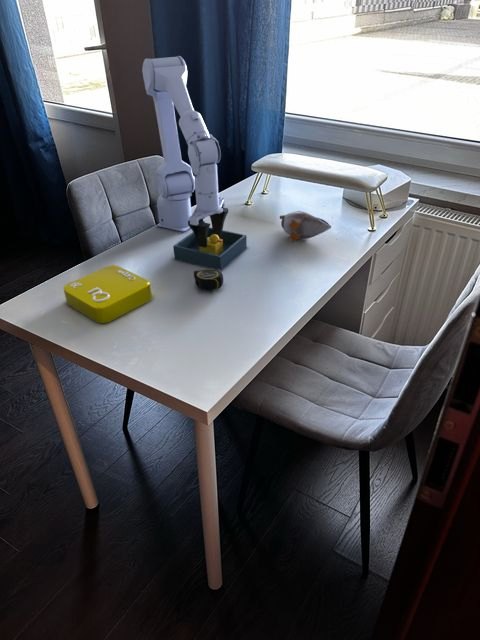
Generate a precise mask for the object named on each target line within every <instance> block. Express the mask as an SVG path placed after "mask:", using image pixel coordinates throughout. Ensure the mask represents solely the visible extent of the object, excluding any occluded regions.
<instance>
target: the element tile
mask: <svg viewBox="0 0 480 640" xmlns="http://www.w3.org/2000/svg"><path fill="white" fill-rule="evenodd" d="M62 290H63V293H64V297H65V300H66V303H67V305H68V306H70V307H71V308H73V309H75V310H76V311H78V312H80V313H81V314H82V315H84V316H86V317H88V318H89V319H90V320H92V321H94V322H95V323H98V324H108V323H110V322H113V321H114V320H116V319H118V318H120V317H122V316H124V315H127V314H128V313H130V312H131V311H134V310H135V309H137V308H140V307H141V306H143V305H144V304H147V303H148V302H150V301H151V300H152V298H153V294H152V288H151V283H150V281H149V280H148V279H145V278H144V277H141V276H140V275H138V274H136V273H133V272H131V271H129V270H127V269H125V268H124V267H121V266H119V265H116V264H110V265H108V266H105V267H103V268H100V269H98V270H96V271H93V272H91V273H89V274H87V275H85V276H83V277H79V278H78V279H76V280H74V281H71V282H69V283H67V284H65V285H64V286H63V288H62Z"/></svg>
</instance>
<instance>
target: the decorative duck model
mask: <svg viewBox="0 0 480 640" xmlns="http://www.w3.org/2000/svg"><path fill="white" fill-rule="evenodd" d="M279 219H280V220H281V222H280V225H281V228H282V229H283V231H284V232H285V234H287V235H288V238H289V239H290V240H291V243H295V242H296V241H297V240H308V239H311V238H314V237H317V236H319V235H321V234H323V233H325V232H327V231H328V230H330V229H332V226H331V224H329V222H328V221H327V220H324V219H323V218H320V217H317V216H314V215H313V214H310V213H308V212H306V211H302V210H295V211H292V212H289V213H286V214H283V215H282V214H281V215H279Z"/></svg>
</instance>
